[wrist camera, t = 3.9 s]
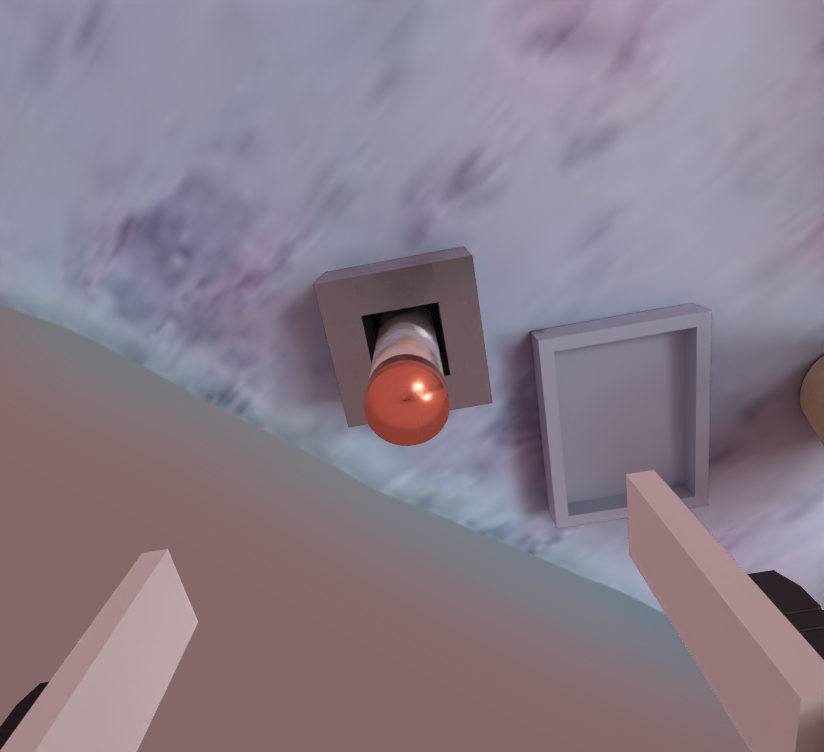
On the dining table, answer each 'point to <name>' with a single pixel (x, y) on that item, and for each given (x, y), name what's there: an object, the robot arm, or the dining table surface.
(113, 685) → the robot arm
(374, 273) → the receiver
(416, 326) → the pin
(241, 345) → the dining table surface
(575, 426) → the tray
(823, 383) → the plant pot
